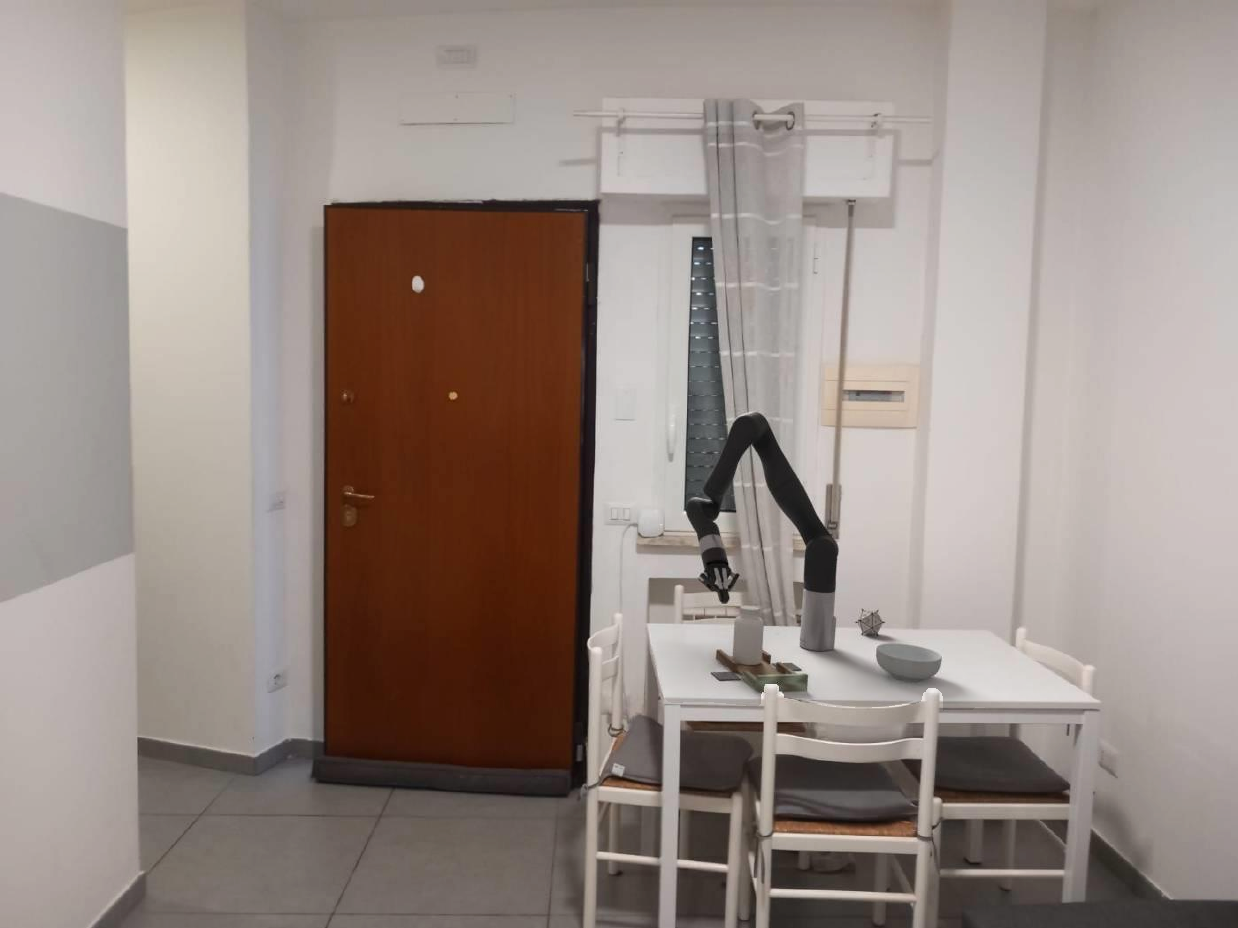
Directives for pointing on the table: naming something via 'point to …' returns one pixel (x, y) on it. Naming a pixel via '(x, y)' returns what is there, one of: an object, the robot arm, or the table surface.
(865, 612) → the spiked polyhedron ball
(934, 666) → the cereal bowl
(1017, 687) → the table surface
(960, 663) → the table surface
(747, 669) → the lane
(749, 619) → the pill bottle
